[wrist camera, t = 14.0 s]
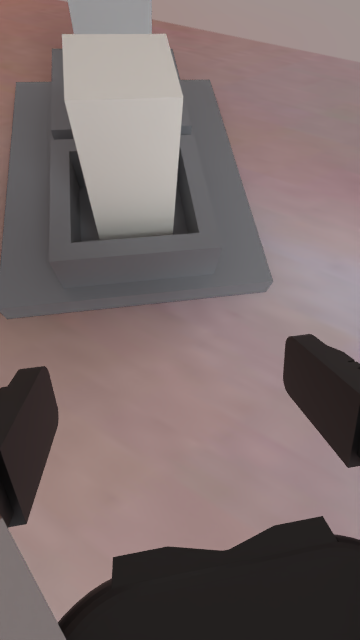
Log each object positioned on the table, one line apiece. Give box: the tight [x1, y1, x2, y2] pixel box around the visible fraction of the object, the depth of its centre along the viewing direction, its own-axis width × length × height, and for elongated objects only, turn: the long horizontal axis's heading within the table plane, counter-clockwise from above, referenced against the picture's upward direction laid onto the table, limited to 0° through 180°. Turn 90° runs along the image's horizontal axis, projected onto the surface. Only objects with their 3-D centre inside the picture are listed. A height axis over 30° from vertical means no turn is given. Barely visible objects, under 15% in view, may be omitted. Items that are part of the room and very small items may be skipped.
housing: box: [0, 0, 273, 319], centre depth 21 cm, size 18×23×12 cm
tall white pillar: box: [62, 34, 183, 240], centre depth 18 cm, size 5×5×10 cm
